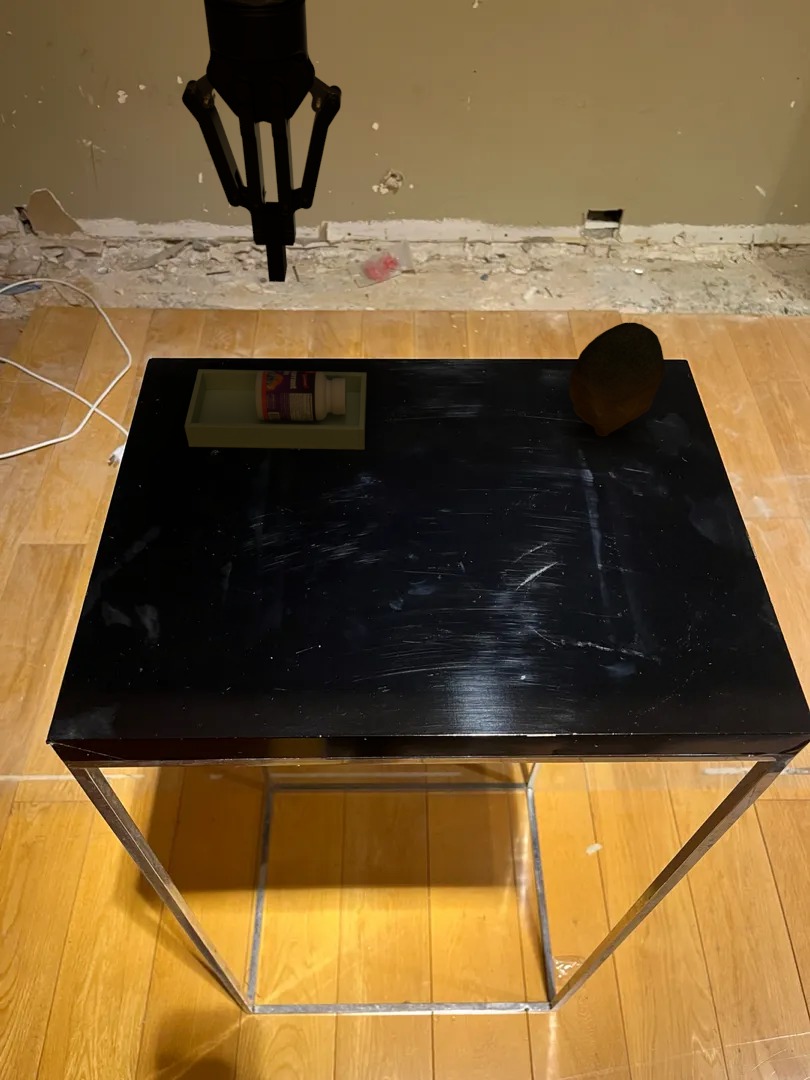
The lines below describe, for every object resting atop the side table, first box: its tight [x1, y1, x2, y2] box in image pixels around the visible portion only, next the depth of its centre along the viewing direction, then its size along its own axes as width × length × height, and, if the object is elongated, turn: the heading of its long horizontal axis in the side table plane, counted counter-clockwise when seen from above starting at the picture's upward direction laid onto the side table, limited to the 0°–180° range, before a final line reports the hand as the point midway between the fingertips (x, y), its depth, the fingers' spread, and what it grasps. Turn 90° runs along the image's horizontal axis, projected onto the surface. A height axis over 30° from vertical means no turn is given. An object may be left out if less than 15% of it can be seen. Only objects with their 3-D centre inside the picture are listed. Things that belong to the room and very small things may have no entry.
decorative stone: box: [568, 322, 666, 437], centre depth 88 cm, size 10×6×15 cm, turn 90°
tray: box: [184, 368, 368, 451], centre depth 93 cm, size 19×10×3 cm, turn 90°
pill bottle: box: [255, 370, 346, 421], centre depth 91 cm, size 5×5×10 cm
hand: (278, 273), depth 79 cm, fingers closed
